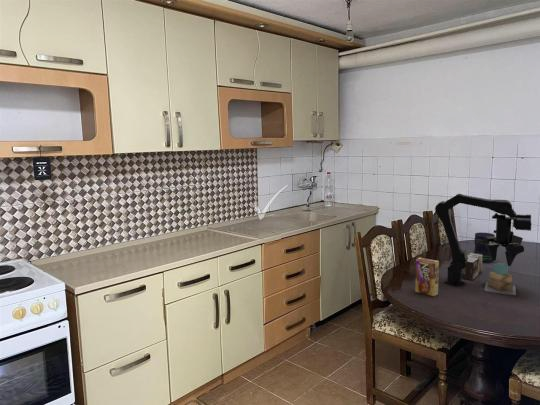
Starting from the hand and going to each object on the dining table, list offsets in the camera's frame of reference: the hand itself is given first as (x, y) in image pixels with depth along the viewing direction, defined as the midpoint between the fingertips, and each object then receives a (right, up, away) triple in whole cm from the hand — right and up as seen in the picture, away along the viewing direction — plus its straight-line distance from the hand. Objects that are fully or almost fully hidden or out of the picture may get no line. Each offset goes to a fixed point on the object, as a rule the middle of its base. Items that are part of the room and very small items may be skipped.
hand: (501, 263), depth 182 cm
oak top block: (0, -8, +1) cm, 8 cm away
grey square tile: (0, -12, +2) cm, 12 cm away
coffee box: (+2, -4, +27) cm, 28 cm away
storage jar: (+15, -6, +44) cm, 47 cm away
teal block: (0, -5, +1) cm, 5 cm away
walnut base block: (0, -12, +2) cm, 12 cm away
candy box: (-34, -14, 0) cm, 36 cm away
